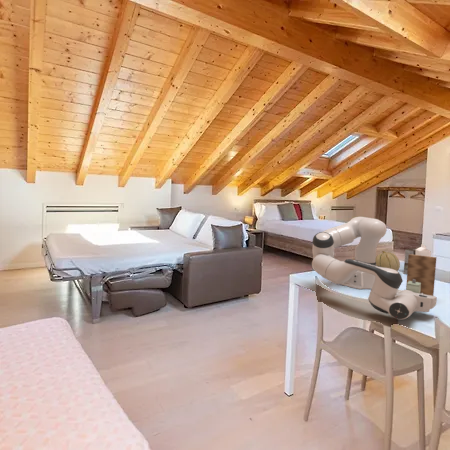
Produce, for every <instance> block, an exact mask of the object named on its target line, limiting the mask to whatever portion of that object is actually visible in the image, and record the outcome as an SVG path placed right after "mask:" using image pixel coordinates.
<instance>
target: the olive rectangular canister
mask: <svg viewBox="0 0 450 450" xmlns="http://www.w3.org/2000/svg"><path fill="white" fill-rule="evenodd" d="M406 284H407V288H406V287H405V290H409V291H412V292H414V293H419V292H420V290H421V283H419V282H416V280H415V279H413V280H412V281H409V282H408V283H407V282H406Z"/></svg>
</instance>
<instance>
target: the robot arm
mask: <svg viewBox="0 0 450 450" xmlns="http://www.w3.org/2000/svg"><path fill="white" fill-rule="evenodd" d="M387 231H388V230H387V225H386V224H385V222H384V221H381V220H380V219H378V218H373V217H367V216H356V217H352V218H351V219H350V220H349V221H347V222H345V223H343V224H340V225H337V226H334V227H330V228H327V229H326V230H322V231H319V232H317V233H316V234H315V235H313V238H312V243H311V244H312V249H311V252H312V261H311V267H312V269H313V270H314V271H315V272H316V273H317V274H318V275H319V276H321V277H322V278H324V279H326V281H328V282H331V283H333V284H334V285H335V284H336V285H341V286H345V287H349V288H353V289H356V290H364V289H367V290H369V289H370V292H369V295H368V296H367V300H368V302H369V304H370V305H371V306H372V307H373V309H374V310H377V312H380V313H383V314H386V315H387V314H388V315H390V316H391V318H393V319H396V320H406V319H407V318H409V317H411V316H412V314H413V313H415V312H423V313H429V312H430V310H432V309H434V308H435V307H436V305H437V301H438V300H437V296H435V295H433V296H431V295H425V294H423V293H420V292H419V293H414V292H412V291H409V290H406V289H403V290H402V289H400V287H401V285H402V283H403V281H404V280H403V278H402V275H401V273H400V272H399V270H398V271H396V270H394V269H390V268H384V267H380V266H376V261H375V260H376V257H377V248H378V246H379V243H380V240H381V239H383V238H384V236H385V235H386V234H387ZM357 238H360V239H359V242H358V244H357V245H355V248H354V258H353V259H352V258H348V259H345V260H339V259H337V258H336V257H335V248H339V247H343V246H345V245H349V244H352V243H353V242H354V241H355V240H356V239H357Z"/></svg>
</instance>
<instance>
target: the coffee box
mask: <svg viewBox="0 0 450 450" xmlns="http://www.w3.org/2000/svg"><path fill="white" fill-rule="evenodd" d="M416 249H417V248H413V247H410V248H405V250H404V263H403V264H404V266H403V275H407V270H408V256H409V254H413V255H415V252H416Z"/></svg>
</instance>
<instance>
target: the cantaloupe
mask: <svg viewBox="0 0 450 450" xmlns="http://www.w3.org/2000/svg"><path fill="white" fill-rule="evenodd" d="M375 261H376V266H380V267H384V268H390V269H394V270H396V271H398V272H399V269H400V268H401V267H400V266H401V262H400V259H399V257H397V255H396V254H395V253H392V252H388V251H383V250H382V251H381V253H379V254H376V260H375Z"/></svg>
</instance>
